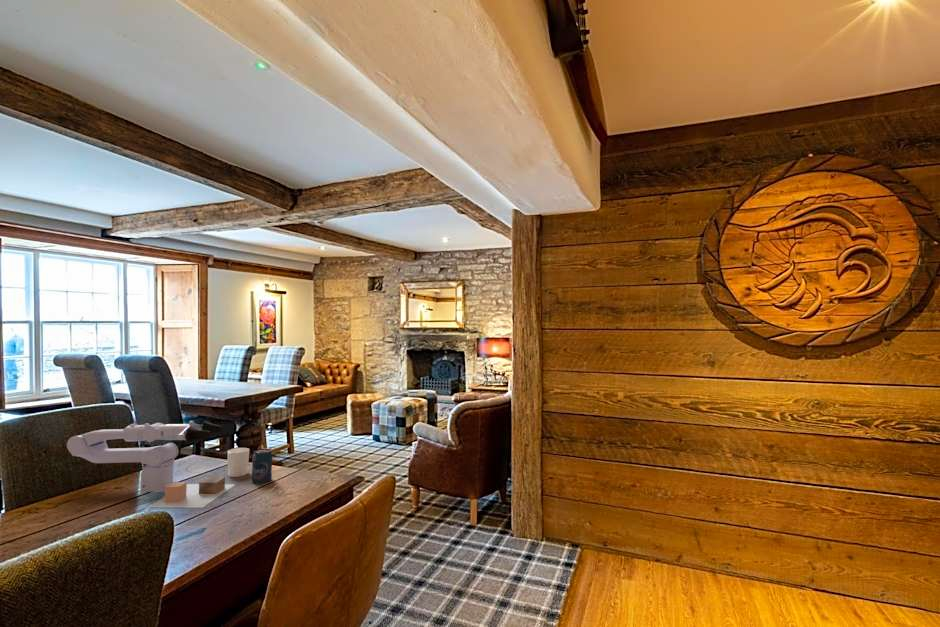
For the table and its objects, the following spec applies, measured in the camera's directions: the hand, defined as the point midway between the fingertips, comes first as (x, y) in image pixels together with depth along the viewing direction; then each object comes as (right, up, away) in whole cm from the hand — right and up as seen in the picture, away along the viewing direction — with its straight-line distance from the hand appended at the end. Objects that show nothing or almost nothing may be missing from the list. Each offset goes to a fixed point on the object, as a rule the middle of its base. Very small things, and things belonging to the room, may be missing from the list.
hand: (215, 431), depth 165 cm
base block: (0, -21, -3) cm, 21 cm away
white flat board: (-3, -21, -7) cm, 22 cm away
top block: (-7, -20, -11) cm, 24 cm away
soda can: (+13, -22, +8) cm, 27 cm away
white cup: (0, -22, +16) cm, 27 cm away
